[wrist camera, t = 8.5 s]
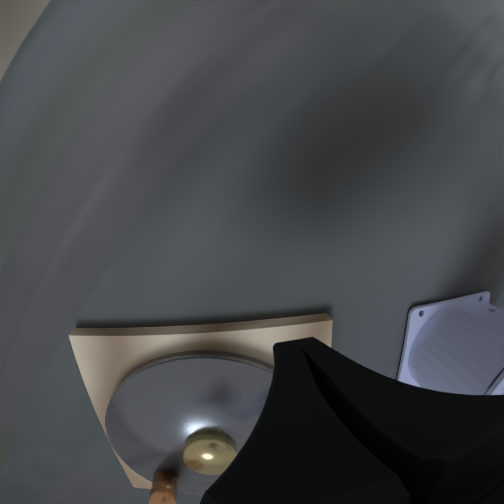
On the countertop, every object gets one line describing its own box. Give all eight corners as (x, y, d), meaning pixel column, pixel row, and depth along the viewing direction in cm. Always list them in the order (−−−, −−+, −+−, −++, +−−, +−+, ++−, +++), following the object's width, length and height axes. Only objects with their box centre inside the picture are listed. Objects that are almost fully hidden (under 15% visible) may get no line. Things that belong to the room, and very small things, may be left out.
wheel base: (326, 312, 20) (332, 320, 18) (312, 469, 23) (315, 478, 22) (75, 327, 18) (68, 335, 17) (135, 478, 22) (133, 487, 21)
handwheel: (72, 378, 17) (45, 419, 13) (282, 317, 18) (301, 359, 13) (168, 495, 21) (164, 534, 16) (327, 459, 21) (343, 499, 17)
